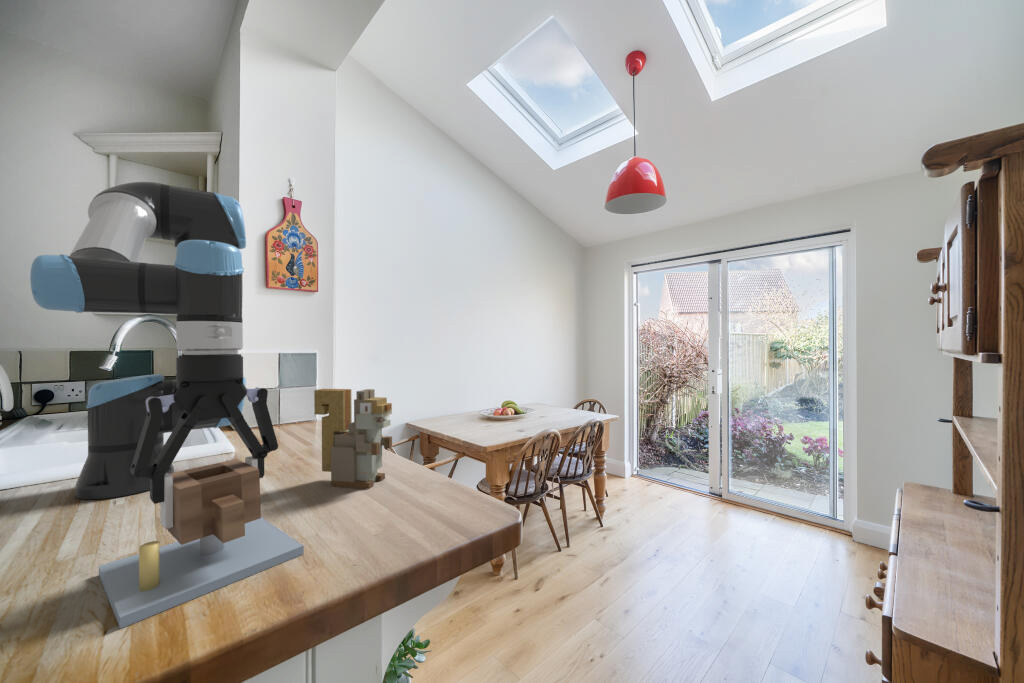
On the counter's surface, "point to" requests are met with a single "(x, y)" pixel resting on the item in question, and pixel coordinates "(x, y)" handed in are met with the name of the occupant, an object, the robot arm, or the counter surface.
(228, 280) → the robot arm
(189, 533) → the tabbed square frame
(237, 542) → the post board
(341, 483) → the toy
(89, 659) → the counter surface
